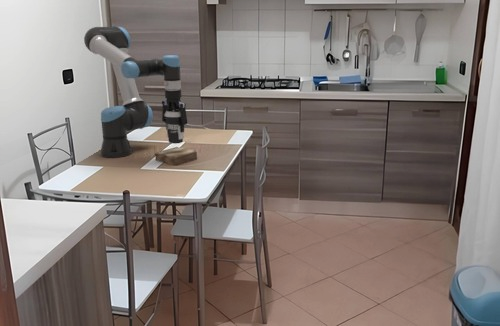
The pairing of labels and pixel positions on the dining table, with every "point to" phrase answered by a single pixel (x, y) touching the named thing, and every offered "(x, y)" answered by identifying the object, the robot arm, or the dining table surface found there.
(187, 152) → the pedestal
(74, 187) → the dining table surface
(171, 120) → the coffee cup
